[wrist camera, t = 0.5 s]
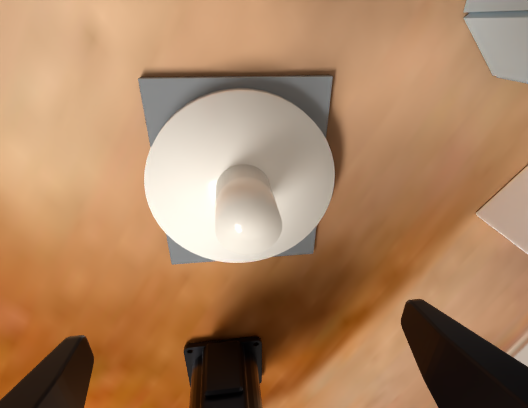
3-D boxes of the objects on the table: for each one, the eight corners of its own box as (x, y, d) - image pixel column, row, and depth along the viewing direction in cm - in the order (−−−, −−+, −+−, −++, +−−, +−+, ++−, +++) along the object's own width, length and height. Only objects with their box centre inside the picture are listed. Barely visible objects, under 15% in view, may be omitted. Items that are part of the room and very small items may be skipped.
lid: (320, 247, 23) (344, 300, 18) (163, 259, 21) (149, 318, 17) (340, 86, 17) (381, 107, 13) (129, 89, 16) (97, 114, 12)
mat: (311, 250, 23) (313, 253, 23) (172, 260, 22) (171, 264, 22) (330, 75, 17) (332, 76, 17) (139, 77, 16) (138, 78, 16)
